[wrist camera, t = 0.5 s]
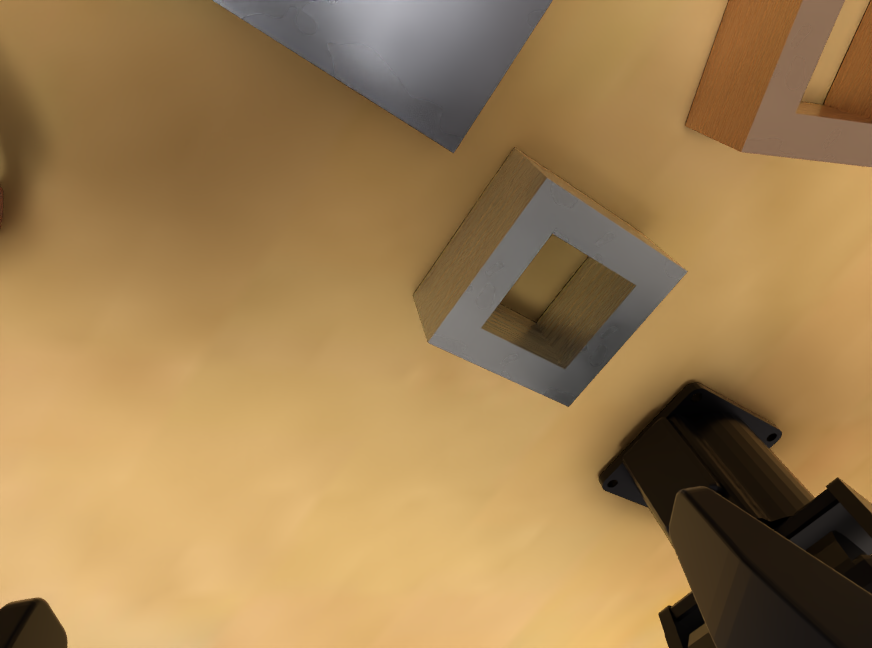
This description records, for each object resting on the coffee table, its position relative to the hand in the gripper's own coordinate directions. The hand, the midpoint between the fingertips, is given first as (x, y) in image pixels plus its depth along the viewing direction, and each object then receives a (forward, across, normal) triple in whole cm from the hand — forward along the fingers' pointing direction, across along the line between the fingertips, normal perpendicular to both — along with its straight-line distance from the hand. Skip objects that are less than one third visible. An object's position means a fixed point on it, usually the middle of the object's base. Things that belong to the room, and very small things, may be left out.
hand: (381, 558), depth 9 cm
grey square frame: (+13, -6, +2) cm, 14 cm away
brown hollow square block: (+13, -15, -5) cm, 20 cm away
